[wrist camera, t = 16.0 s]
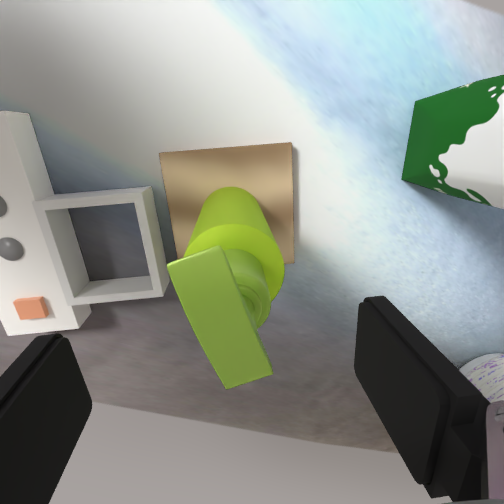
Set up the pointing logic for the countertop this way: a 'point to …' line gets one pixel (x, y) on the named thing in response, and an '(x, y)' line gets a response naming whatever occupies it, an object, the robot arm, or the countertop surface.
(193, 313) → the soap dispenser
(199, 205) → the oak board
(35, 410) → the robot arm
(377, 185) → the countertop surface
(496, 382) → the paper bowls
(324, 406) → the countertop surface
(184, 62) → the countertop surface
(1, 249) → the white holder tray
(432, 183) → the milk carton
